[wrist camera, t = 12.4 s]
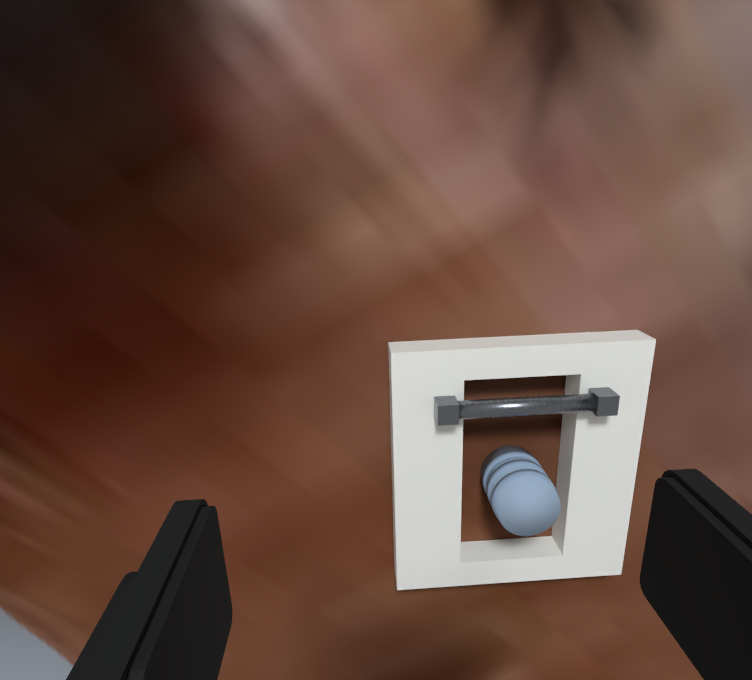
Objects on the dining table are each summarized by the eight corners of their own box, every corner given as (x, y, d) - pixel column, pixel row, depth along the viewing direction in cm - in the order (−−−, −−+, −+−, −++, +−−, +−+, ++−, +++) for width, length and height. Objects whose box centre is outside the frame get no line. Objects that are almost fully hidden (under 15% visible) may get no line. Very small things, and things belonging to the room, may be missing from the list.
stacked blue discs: (538, 442, 43) (565, 478, 37) (535, 493, 44) (560, 535, 39) (479, 446, 42) (497, 483, 37) (478, 497, 44) (495, 539, 39)
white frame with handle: (637, 329, 40) (656, 339, 37) (607, 554, 47) (621, 574, 44) (388, 342, 39) (390, 352, 37) (394, 568, 46) (397, 590, 43)
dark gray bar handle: (608, 386, 38) (619, 396, 37) (606, 405, 39) (617, 415, 37) (433, 396, 38) (437, 406, 36) (433, 415, 38) (437, 425, 37)
